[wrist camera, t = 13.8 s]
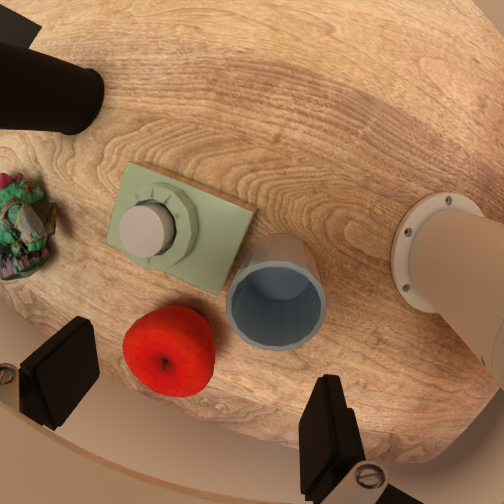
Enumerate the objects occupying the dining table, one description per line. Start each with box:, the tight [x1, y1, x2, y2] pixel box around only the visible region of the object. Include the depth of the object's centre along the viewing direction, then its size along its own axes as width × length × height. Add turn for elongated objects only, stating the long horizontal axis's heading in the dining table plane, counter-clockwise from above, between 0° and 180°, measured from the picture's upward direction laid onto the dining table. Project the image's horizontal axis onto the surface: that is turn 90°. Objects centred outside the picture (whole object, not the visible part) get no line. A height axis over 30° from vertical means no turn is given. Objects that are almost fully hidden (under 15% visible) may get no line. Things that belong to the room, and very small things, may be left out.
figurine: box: [0, 173, 56, 280], centre depth 25 cm, size 12×13×15 cm
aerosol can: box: [0, 41, 104, 135], centre depth 15 cm, size 8×8×20 cm
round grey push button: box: [119, 203, 174, 258], centre depth 21 cm, size 4×4×2 cm
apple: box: [123, 306, 215, 397], centre depth 26 cm, size 9×9×8 cm
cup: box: [226, 234, 327, 351], centre depth 23 cm, size 7×7×8 cm
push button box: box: [106, 161, 258, 296], centre depth 24 cm, size 12×8×6 cm, turn 67°
